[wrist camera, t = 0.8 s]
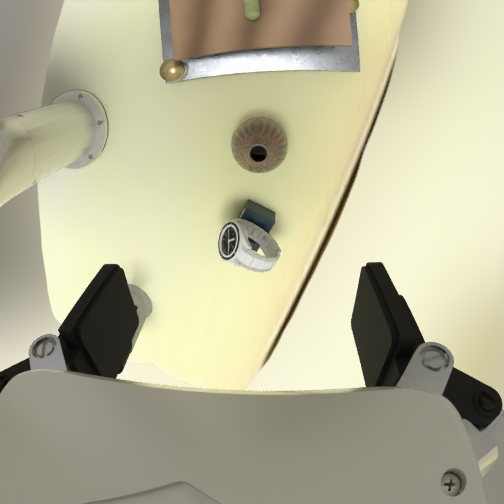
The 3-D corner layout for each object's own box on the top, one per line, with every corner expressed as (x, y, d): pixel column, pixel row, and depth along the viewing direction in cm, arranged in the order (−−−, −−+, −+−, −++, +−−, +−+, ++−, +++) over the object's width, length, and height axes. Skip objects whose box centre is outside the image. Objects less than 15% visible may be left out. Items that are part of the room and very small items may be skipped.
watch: (236, 193, 44) (227, 227, 34) (285, 217, 45) (289, 257, 36) (220, 224, 47) (207, 264, 37) (267, 246, 48) (266, 290, 39)
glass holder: (107, 306, 57) (77, 361, 44) (122, 254, 50) (83, 310, 37) (145, 325, 59) (122, 383, 46) (166, 276, 52) (139, 338, 39)
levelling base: (169, 83, 36) (155, 83, 31) (160, -33, 26) (146, -45, 22) (356, 72, 34) (369, 70, 29) (343, -46, 24) (353, -61, 20)
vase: (294, 129, 39) (301, 140, 31) (272, 172, 42) (273, 193, 35) (247, 107, 38) (242, 112, 30) (226, 152, 41) (216, 168, 33)
